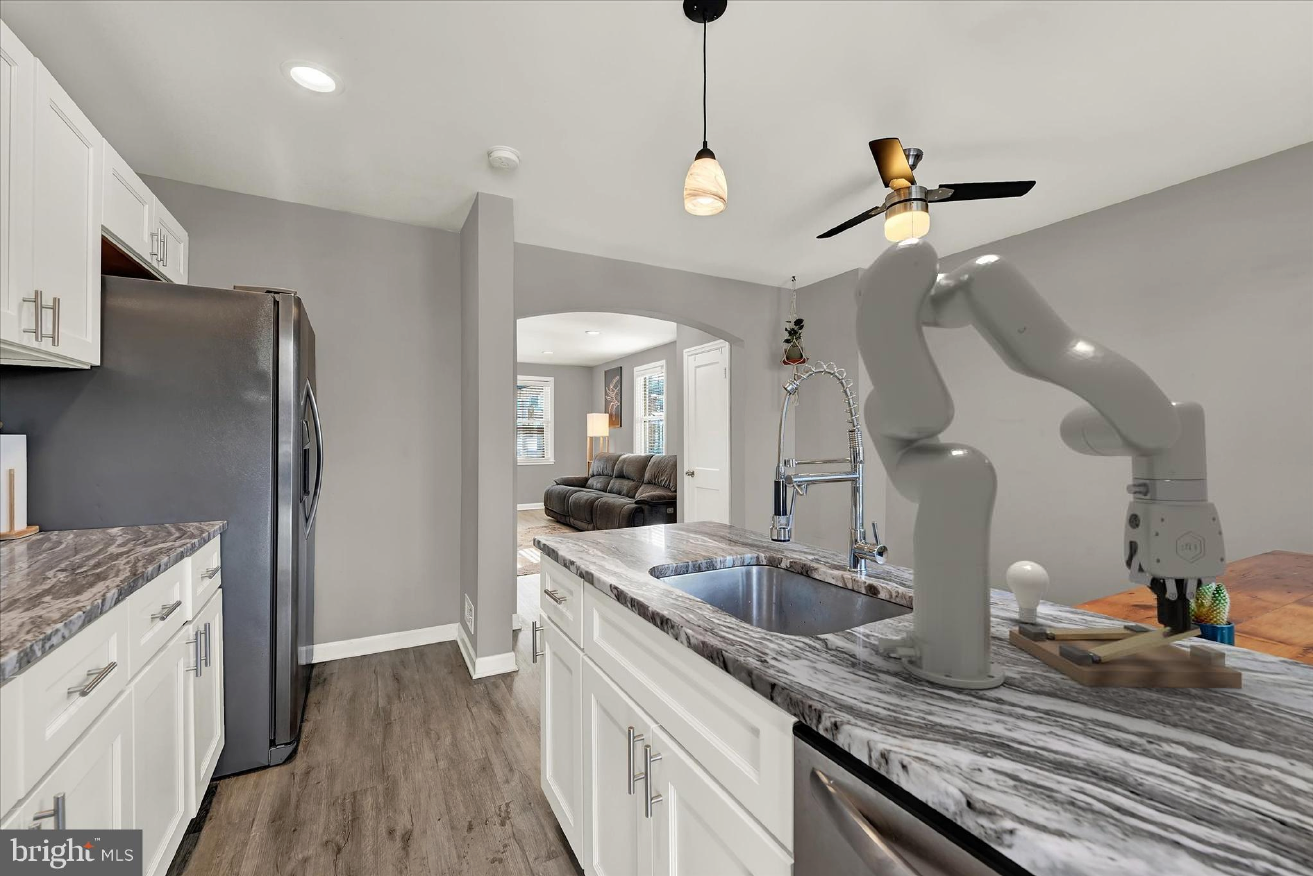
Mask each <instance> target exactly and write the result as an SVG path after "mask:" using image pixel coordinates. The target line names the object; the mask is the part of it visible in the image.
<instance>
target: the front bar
mask: <svg viewBox="0 0 1313 876" xmlns="http://www.w3.org/2000/svg"><path fill="white" fill-rule="evenodd" d="M1199 635H1202V632H1201V629H1200V625H1197V624H1195V623H1191V629H1190V630H1184V629H1182V630H1176V629H1173V628H1170V627H1167V626H1165V627H1163V628H1160V629H1159V630H1155V631H1152V632H1148V633H1145V634H1141V635H1138V636H1134V637H1131V638H1127V639H1124V640H1120V641H1117V642H1113V643H1109V644H1106V645H1102V646H1099V647H1095V648H1092V649H1088V650H1085V649H1083V651H1085V652H1087V653H1089V654H1091V655H1092V661H1093V662H1095V663H1100V662H1105V661H1108V660H1112V659H1116V658H1119V657H1123V656H1126V655H1130V654H1133V653H1137V652H1140V651H1144V650H1147V649H1151V648H1154V647H1158V646H1161V645H1165V644H1171V643H1176V642H1179V641H1183V640H1186V639H1189V638H1190V639H1191V638H1193V637H1197V636H1199Z"/></svg>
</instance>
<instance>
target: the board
mask: <svg viewBox="0 0 1313 876" xmlns="http://www.w3.org/2000/svg"><path fill="white" fill-rule="evenodd" d="M1134 625H1135V626H1137V627H1140V628H1142V629H1145V630H1148V632H1152V631H1155V630H1159V629H1161V627H1157V626H1154V625H1152V624H1150V623H1135V624H1134ZM1017 627H1018V629H1009V630H1008V638H1009V639H1008V640H1009V641H1008V643H1010V644H1011V645H1013V646H1015V645H1016V646H1017V647H1016V646H1015V647H1016V648H1018V647H1020V648H1021V649H1020V648H1019V649H1020V650H1022V649H1023V650H1024V652H1025V651H1026V652H1025V653H1026V654H1028V655H1030V654H1031V655H1030V656H1032V655H1033V656H1032V657H1034V656H1035V657H1036V658H1035V657H1034V658H1035V659H1037V658H1038V659H1037V660H1039V661H1040V662H1042V661H1043V662H1042V663H1045V664H1046V665H1048V666H1050V667H1051V668H1053V669H1055V670H1057V671H1058V672H1060V673H1062V674H1063V675H1065V676H1066V677H1068V678H1070V679H1072V680H1073V681H1076V682H1077V683H1079V684H1080V685H1082V686H1084V687H1111V686H1112V687H1115V688H1116V687H1121V688H1123V687H1124V688H1126V687H1127V688H1128V687H1129V688H1132V687H1133V688H1136V687H1137V688H1194V689H1195V688H1196V689H1197V688H1198V689H1200V688H1204V689H1206V688H1207V689H1210V688H1211V689H1214V688H1215V689H1217V688H1218V689H1242V688H1243V682H1242V681H1243V680H1242V679H1243V676H1242V675H1243V674H1242V673H1243V672H1241V671H1238V670H1236V669H1234V668H1231V667H1229V666H1226V652H1225V651H1224V652H1223V651H1221V650H1219V649H1215V648H1213V647H1210V646H1208V645H1205V644H1189V648H1190V649H1189V650H1186V649H1184V648H1181V647H1178V646H1175V645H1173V644H1171V643H1168V644H1165V645H1161V646H1158V647H1154V648H1151V649H1147V650H1144V651H1140V652H1137V653H1133V654H1130V655H1126V656H1123V657H1119V658H1116V659H1112V660H1108V661H1105V662H1100V663H1095V662H1093V661H1092V655H1091V654H1089V653H1087V652H1085V651H1083V649H1085V650H1088V649H1092V648H1095V647H1099V646H1102V645H1106V644H1109V643H1113V642H1117V641H1120V640H1124V639H1127V638H1113V639H1063V640H1055V639H1053V640H1051V639H1049V638H1047V637H1046V632H1044V631H1042V630H1040V629H1039V628H1038V627H1037V626H1034V625H1033V624H1025V623H1023V624H1022V623H1021V624H1018V626H1017ZM1023 650H1022V651H1023Z"/></svg>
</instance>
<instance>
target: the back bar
mask: <svg viewBox="0 0 1313 876" xmlns="http://www.w3.org/2000/svg"><path fill="white" fill-rule="evenodd" d="M1038 629H1040V630H1042V631H1044V632H1046V637H1047V638H1049V639H1051V640H1053V639H1055V640H1063V639H1113V638H1131V637H1134V636H1138V635H1141V634H1145V633H1148V630H1145V629H1142V628H1140V627H1137V626H1135V624H1132V625H1129V624H1127V625H1125V624H1124V625H1123V627H1085V628H1084V627H1081V628H1078V627H1077V628H1043V627H1039V628H1038Z"/></svg>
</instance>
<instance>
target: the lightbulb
mask: <svg viewBox="0 0 1313 876" xmlns="http://www.w3.org/2000/svg"><path fill="white" fill-rule="evenodd" d="M1005 573H1006V574H1005V578H1006V584H1007V586H1008V587H1009V589H1010V590H1011V591H1012V593H1013V594H1014V597H1015V601H1016V603H1017V605H1018V620H1019V621H1021V622H1023V624H1025V623H1028V624H1029V625H1033V624H1034V623H1037V621H1038V620H1037V619H1038V618H1037V616H1038V615H1037V614H1038V613H1037V612H1038V607H1039V606H1040V602H1041V601H1040V600H1041V598H1042V597H1043V596H1044V595H1045V594H1046V593H1047V591H1048V589H1049V587H1050V583H1051V581H1050V577H1049V574H1048V572H1047V570H1045V568H1044V567H1043V566H1041V565H1040V564H1038V563H1036V562H1034V561H1030V560H1019V561H1017V562H1014V563H1013V564H1011V565H1010V566H1009V567H1008V569H1007V571H1006V572H1005Z"/></svg>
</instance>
